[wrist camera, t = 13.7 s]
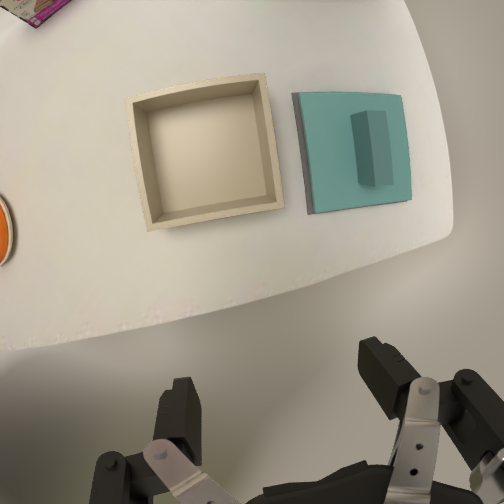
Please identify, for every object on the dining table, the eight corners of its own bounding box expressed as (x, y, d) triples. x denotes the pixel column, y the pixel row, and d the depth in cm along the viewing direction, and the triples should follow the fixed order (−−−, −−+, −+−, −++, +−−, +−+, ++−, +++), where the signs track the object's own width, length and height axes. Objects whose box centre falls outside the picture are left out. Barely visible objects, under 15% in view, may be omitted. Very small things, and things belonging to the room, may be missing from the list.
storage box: (255, 89, 35) (264, 73, 28) (271, 199, 40) (284, 207, 33) (142, 109, 34) (125, 98, 27) (160, 218, 39) (147, 231, 32)
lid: (394, 97, 37) (419, 90, 30) (404, 198, 42) (431, 205, 35) (295, 95, 36) (310, 83, 29) (311, 210, 41) (328, 220, 34)
